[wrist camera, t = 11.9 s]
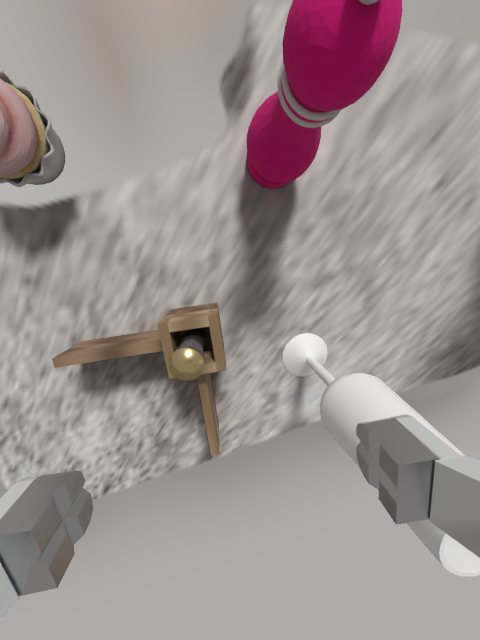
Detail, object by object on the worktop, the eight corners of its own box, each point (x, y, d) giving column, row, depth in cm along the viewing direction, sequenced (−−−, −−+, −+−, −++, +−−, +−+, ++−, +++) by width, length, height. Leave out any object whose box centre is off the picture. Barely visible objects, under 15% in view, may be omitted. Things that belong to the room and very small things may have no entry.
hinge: (112, 441, 35) (83, 492, 27) (77, 322, 31) (29, 342, 23) (235, 420, 36) (240, 463, 28) (217, 302, 32) (217, 315, 24)
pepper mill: (309, 135, 28) (510, -140, 9) (293, 200, 30) (435, 82, 10) (250, 116, 27) (333, -242, 8) (236, 184, 29) (278, 21, 9)
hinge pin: (206, 321, 29) (200, 346, 20) (210, 345, 29) (206, 378, 21) (181, 325, 28) (165, 351, 20) (185, 349, 29) (171, 383, 21)
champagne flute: (314, 382, 36) (494, 601, 13) (274, 367, 35) (393, 577, 11) (335, 343, 35) (576, 503, 12) (295, 325, 34) (474, 465, 10)
